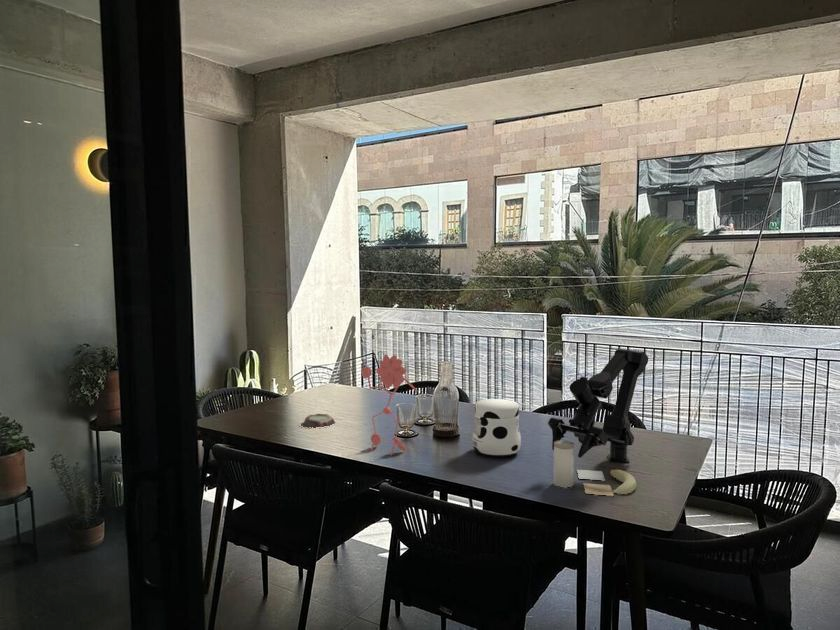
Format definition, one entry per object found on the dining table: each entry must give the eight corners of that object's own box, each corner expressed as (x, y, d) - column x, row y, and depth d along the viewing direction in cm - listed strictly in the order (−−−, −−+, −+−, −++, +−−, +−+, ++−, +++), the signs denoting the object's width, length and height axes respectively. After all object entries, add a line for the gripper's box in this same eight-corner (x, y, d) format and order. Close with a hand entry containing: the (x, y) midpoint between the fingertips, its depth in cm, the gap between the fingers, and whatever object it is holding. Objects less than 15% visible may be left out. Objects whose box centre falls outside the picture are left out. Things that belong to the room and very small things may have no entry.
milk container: (528, 450, 214) (529, 402, 213) (507, 464, 200) (508, 412, 198) (486, 442, 224) (486, 396, 222) (463, 454, 210) (463, 405, 208)
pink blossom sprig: (409, 460, 203) (409, 360, 201) (352, 447, 218) (352, 354, 215) (433, 449, 216) (434, 355, 214) (378, 438, 231) (378, 349, 228)
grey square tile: (576, 470, 193) (576, 469, 193) (602, 472, 192) (602, 471, 192) (578, 479, 186) (578, 478, 186) (605, 481, 184) (605, 480, 184)
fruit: (633, 479, 187) (633, 468, 187) (638, 497, 173) (638, 486, 172) (609, 477, 189) (610, 467, 189) (612, 495, 174) (612, 484, 174)
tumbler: (552, 480, 185) (553, 439, 184) (572, 481, 184) (573, 441, 183) (553, 487, 179) (554, 445, 178) (574, 488, 178) (575, 447, 177)
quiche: (284, 424, 253) (284, 415, 252) (326, 416, 265) (326, 408, 265) (306, 435, 236) (306, 426, 236) (350, 427, 249) (350, 417, 248)
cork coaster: (583, 484, 181) (583, 483, 181) (610, 486, 180) (610, 485, 180) (585, 494, 174) (585, 493, 174) (613, 496, 172) (613, 495, 172)
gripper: (621, 432, 185) (602, 475, 179) (570, 421, 199) (550, 460, 193) (609, 412, 179) (589, 455, 173) (557, 401, 193) (536, 441, 187)
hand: (565, 453), depth 181 cm, fingers open, 9 cm apart
